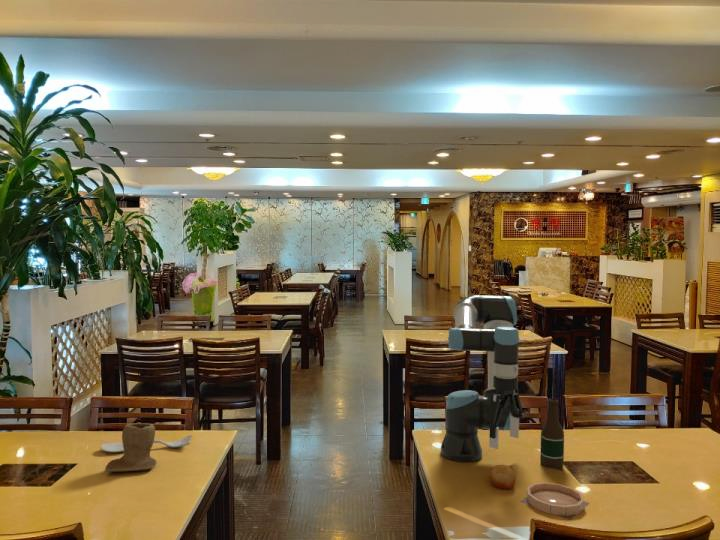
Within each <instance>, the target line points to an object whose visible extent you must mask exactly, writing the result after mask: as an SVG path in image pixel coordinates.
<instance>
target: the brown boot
mask: <svg viewBox="0 0 720 540" xmlns="http://www.w3.org/2000/svg"><path fill="white" fill-rule="evenodd" d="M155 435H156V427H155V426H154V424H153V423H147V422H145V423H144V422H142V423H140V422H139V423H137V422H136V423H128V424H125V425H124V427H123V430H122V434H121V441H122V442H121V443H123V448H124V451H123V455H122V456H121V457H120V458H115V459H112V460H110V461H109V462H108V463H107V464H106V466H105V470H104V472H106V473H113V472H115V473H117V472H118V473H119V472H120V473H121V472H135V471H144V470H151V469H153V468H154V467H156V465H157V460H156V458H153V457H151V450H152V448H153V445H154V443H153V442H154V440H155Z"/></svg>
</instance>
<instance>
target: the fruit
mask: <svg viewBox="0 0 720 540" xmlns="http://www.w3.org/2000/svg"><path fill="white" fill-rule="evenodd" d="M488 474H489V475H488V477H489V480H490V482H491V484H492V486H493V487H494V488H496V489H499V490H506V491H507V490H512V489H514V486H515V483H516V474H515V471H514V470H513V469H512V468H511V467H510V466H508V465H505V464H498V465H495V466H493V467H492V468H491V469H490V471H489V473H488Z"/></svg>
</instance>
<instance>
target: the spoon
mask: <svg viewBox="0 0 720 540" xmlns="http://www.w3.org/2000/svg"><path fill="white" fill-rule="evenodd" d="M192 437H193V435H192V434H190V435H186V436H185V437H183V438H180V439H175V440H174V441H171V442H169V441H164V440H161V439H154V442H153V444H155V443H156V444H161V445H164V446H166V447H168V448H181V447H185V446H189V445H190V444H191V442H190V441H191V440H192ZM100 450H102V451H104V452H108V453H123V452H124V448H123V442H108V443H103V444H101V445H100Z"/></svg>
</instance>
